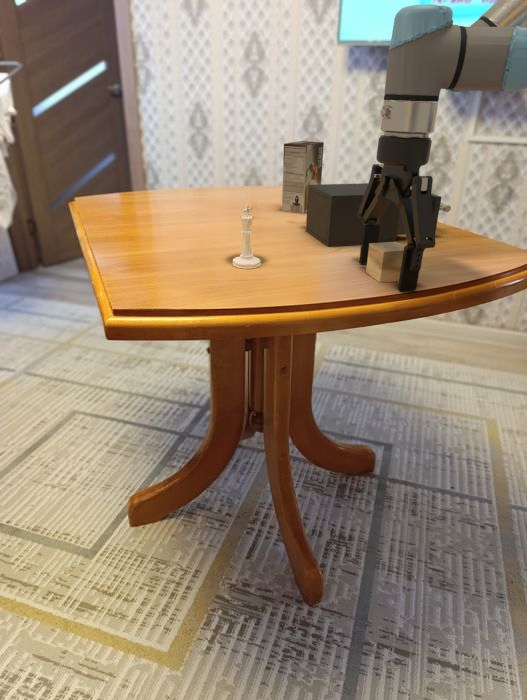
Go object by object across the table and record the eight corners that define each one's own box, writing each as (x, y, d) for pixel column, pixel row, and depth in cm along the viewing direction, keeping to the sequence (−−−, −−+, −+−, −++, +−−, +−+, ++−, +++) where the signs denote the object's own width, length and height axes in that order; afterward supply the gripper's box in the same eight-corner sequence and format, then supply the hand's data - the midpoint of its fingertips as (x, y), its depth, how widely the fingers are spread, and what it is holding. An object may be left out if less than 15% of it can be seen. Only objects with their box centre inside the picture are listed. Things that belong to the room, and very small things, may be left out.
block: (392, 270, 86) (396, 241, 84) (407, 280, 82) (412, 249, 79) (365, 272, 85) (369, 243, 82) (379, 282, 80) (383, 251, 78)
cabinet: (367, 228, 113) (372, 183, 108) (395, 243, 102) (402, 193, 98) (305, 231, 109) (308, 184, 105) (327, 246, 98) (332, 195, 94)
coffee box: (297, 207, 131) (300, 140, 124) (320, 210, 129) (324, 142, 121) (280, 213, 124) (283, 142, 117) (304, 216, 121) (308, 144, 114)
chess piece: (226, 264, 87) (225, 204, 82) (246, 258, 90) (246, 200, 86) (247, 270, 84) (247, 209, 80) (266, 264, 87) (268, 205, 83)
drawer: (423, 222, 115) (429, 186, 112) (452, 234, 105) (460, 196, 102) (351, 225, 111) (355, 188, 107) (375, 238, 101) (380, 198, 97)
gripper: (346, 128, 83) (334, 254, 93) (430, 142, 62) (403, 305, 71) (387, 128, 85) (371, 252, 95) (483, 143, 64) (449, 301, 73)
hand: (385, 275), depth 83 cm, fingers open, 13 cm apart
